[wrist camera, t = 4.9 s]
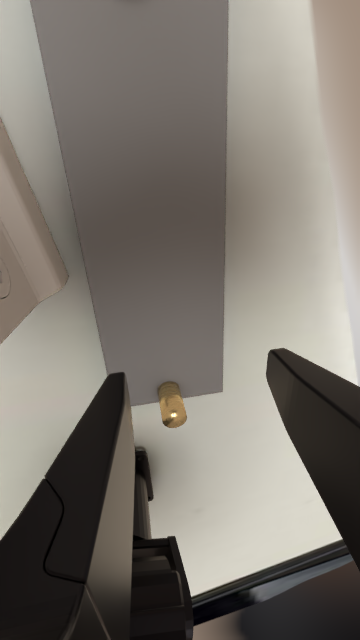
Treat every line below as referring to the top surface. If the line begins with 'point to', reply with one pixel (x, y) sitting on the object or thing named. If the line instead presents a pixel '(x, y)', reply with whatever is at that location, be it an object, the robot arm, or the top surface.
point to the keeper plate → (146, 181)
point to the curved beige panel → (23, 245)
